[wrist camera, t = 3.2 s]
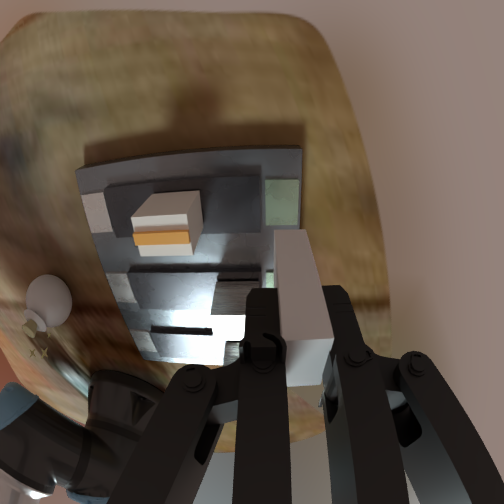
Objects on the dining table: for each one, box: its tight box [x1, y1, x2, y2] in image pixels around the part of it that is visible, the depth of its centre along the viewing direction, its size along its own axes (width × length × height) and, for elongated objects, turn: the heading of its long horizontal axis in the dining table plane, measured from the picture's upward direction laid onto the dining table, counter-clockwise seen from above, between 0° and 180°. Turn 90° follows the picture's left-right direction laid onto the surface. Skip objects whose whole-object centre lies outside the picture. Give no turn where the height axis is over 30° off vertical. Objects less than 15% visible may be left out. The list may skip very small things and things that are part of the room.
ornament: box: [22, 274, 72, 359], centre depth 23 cm, size 6×7×10 cm
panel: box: [75, 145, 302, 367], centre depth 23 cm, size 18×24×6 cm
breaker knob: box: [131, 191, 204, 256], centre depth 18 cm, size 4×3×4 cm
